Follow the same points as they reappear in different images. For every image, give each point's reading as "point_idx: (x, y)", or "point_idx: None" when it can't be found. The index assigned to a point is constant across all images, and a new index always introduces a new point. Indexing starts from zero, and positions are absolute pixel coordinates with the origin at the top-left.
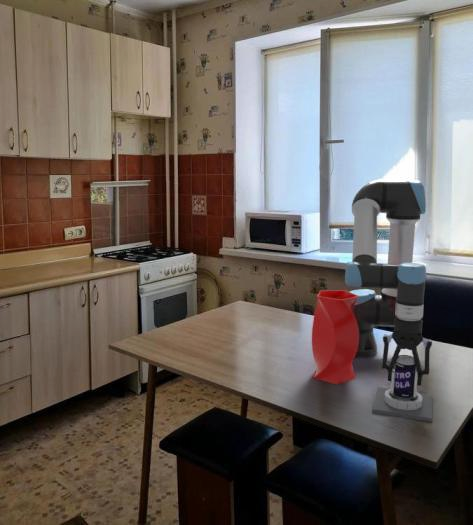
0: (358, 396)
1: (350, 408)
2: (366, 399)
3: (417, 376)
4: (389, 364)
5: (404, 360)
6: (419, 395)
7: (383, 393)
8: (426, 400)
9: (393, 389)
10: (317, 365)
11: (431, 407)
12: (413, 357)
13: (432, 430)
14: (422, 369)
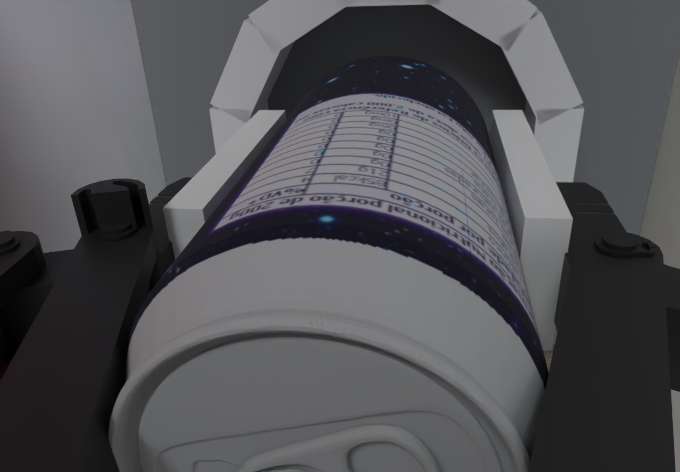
0: (33, 91)
1: None
2: (106, 125)
3: (548, 348)
4: (73, 255)
5: None
6: (555, 97)
7: (200, 11)
8: (628, 13)
9: None
10: None
11: (650, 160)
12: (505, 440)
13: None
14: (671, 327)
